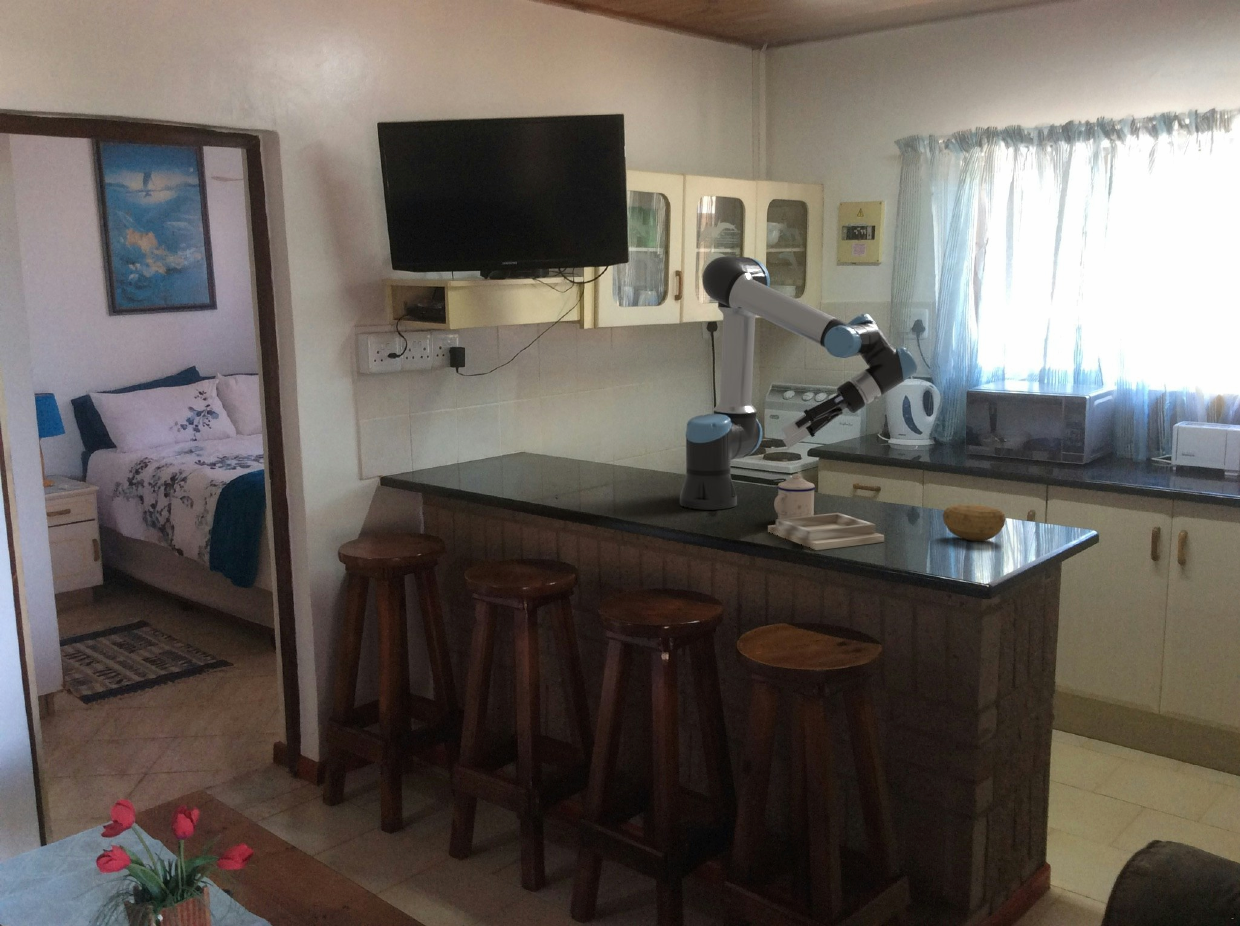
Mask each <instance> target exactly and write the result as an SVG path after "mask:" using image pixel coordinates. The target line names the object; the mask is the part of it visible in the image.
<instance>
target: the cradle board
mask: <svg viewBox="0 0 1240 926" xmlns="http://www.w3.org/2000/svg"><path fill="white" fill-rule="evenodd" d="M876 526H877V525H876V523H872V522H869V521H866V520H863V519H859V518H856V517H854V516H850V515H847V514H843V513H840V512H834V513H825V514H824V513H823V514H816V515H813V516H804V517H794V518H785V519H778V518H777V519H775V524H772V525H767V533H769V532H770V534H772V533H773V535H775V536H777V535H778V537H779V538H780V537H781V538H783V539H785V538H786V540H788V541H791V542H794V543H795V544H799V545H801V544H802V546H804V547H807V548H809V547H810V548H809V549H812V550H815V551H821V550H828V549H829V550H831V549H837V548H838V549H839V548H845V547H846V548H847V547H853V546H861V545H862V546H863V545H869V544H870V545H871V544H877V543H884V542H885V535H884V534H881V533H878V532H876Z"/></svg>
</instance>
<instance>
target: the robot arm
mask: <svg viewBox="0 0 1240 926" xmlns="http://www.w3.org/2000/svg"><path fill="white" fill-rule="evenodd" d="M770 279H771V278H770V274H769V271H768V269H767V267H766V266H765V265H764V264H763V263H762V262H761V261H759V259H758V260H757V259H755V258H753V257H748V256H747V257H746V256H719V257H716V258H714V259H713V260H711V261H710V262H709V263H708V264H707V265H706V267H705V268H704V270H703V273H702V278H701V280H702V286H703V290H704V291H705V293H706V295H707V296H709V298H711V299H712V300H714V301H715V302H717V308H718V310H720V312H721V313H722V316H723V317H722V340H721V362H720V363H721V364H720V387H719V388H720V389H719V402H718V404H717V405H716V406H715V407H714V408H713V413H709V414H704V415H703V414H701V415H697V416H694V417H692V418H689V420H688V421H687V423H686V430H685V444H686V445H685V457H686V458H685V459H686V461H685V462H686V465H685V466H686V467H685V468H686V475H685V479H684V482H683V485H682V489H681V491H680V494H679V506H681V507H683V506H684V507H683V508H686V507H689V508H688V509H692V508H693V510H694V509H695V510H706V511H707V510H708V511H709V510H710V511H711V510H725V509H731V508H734V507H736V506H737V505H738V497H737V492H736V490H735V486H734V482H733V480H732V476H731V464H732V463H731V461H732V460H736V459H739V460H740V459H742V458H743V459H744V458H745V457H748V456H749V455H751V454H753V453H754V452H755V451H757V450H758V448H759V447H760V444H761V443H762V441H763V427H762V425H761V423H760V422H759V420H758V419H757V409H756V408H755V406H753V404H752V399H753V398H752V396H753V374H754V353H755V335H756V334H755V331H756V329H755V328H756V316H758V317H759V318H762V319H764V320H766V321H768V322H771V323H772V324H774V325H777V326H778V327H781V328H782V329H785V330H787V331H789V332H791V333H793V334H795V335H797V336H799V337H802V338H804V339H806V340H808V341H810V342H811V343H814V344H816V345H818V346H820V347H823V348H824V349H826V351H827V353H828V354H830V355H831V356H833V357H835V358H841V359H847V358H852V357H855V356H856V357H857V356H861V358H862V359H863V360H864V362H865V364H866V365H867V366H868V367H867V368H866V369H864V370H863V371H860V373H858V374H856V375H855V376H852V377H851V378H850V380H849V381H848V380H847V381H845V382H844V383H842V384H841V385H839V386H838V387H837V388H836V392H837V394H835V395H833V396H832V397H830V398H828V399H826V400H825V401H822V402H821V403H819V404H817V405H815V406H814V407H811V408H809V409H808V408H807V409H805V410H804V411H803V413H804V414H803V415H801V416H799V417H798V418H797V419H795V420H794V421H792V422H790V423H789V424H787V425H786V426H784V427H783V428H781V431H782V432H783V433H784V435H785V438H783V439H782V441H783V443H784V444H785V446H786V448H787V449H791V448H793V447H794V446H795V445H797V444H799V443H800V442H802V441H803V440H805V439H807V438H808V437H811V438H813V437H815V436H816V433H817V432H819V431H821V429H823V428H824V427H825V426H827V425H828V424H829V423H831V422H832V421H834V420H835V419H836V418H837V417H839V416H841V415H843V413H844V410H845V409H847V410H848V411H849V412H850V413H852V414H854V413H857V412H858V411H859V410H861V409H862V408H864V407H865V406H866V404H870V403H872V402H873V401H876V402H878V401H879V400H880V398H879V397H880V396H883V395H884V394H886V393H888V392H889V391H891V390H892V389H894V388H895V387H898V386H899V385H900V384H902V383H904V382H905V381H906V380H907V379H909V378H910V377H911V376H913V375H914V374H915V373H916V372H917V369H918V364H917V362H916V360H915V358H914V357H913V355H912V354H911V352H910V351H908V349H907V348H906V347H903V346H900V347H898V348H895V347H894V346H893V345H892V344H891V342H890V341H889V340H888V337H886V335H885V334H884V332H883V331H882V330H881V328H880V327H879V326H878V324H877V322H876V321H875V320H874V319H873V318H872V316H871V315H870V314H869V313H862V314H860V315H857V316H856V317H854V318H853V319H851V320H850V321H848V322H845V321H844V320H841V319H838V318H836V317H834V316H832V315H830V314H827V313H826V312H824V311H822V310H819V309H817V308H815V307H813V306H810V305H808V304H806V303H804V302H802V301H801V300H800V301H799V300H797V299H795V298H793V297H791V296H789V295H787V294H785V293H783V292H780V291H778V290H776V289H774V288H772V287H770V285H771V284H770V283H771V280H770Z"/></svg>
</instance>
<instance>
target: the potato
mask: <svg viewBox="0 0 1240 926" xmlns="http://www.w3.org/2000/svg"><path fill="white" fill-rule="evenodd" d="M942 513H943V514H942V518H943V523H944V525H945V527H946V528H947V529H948V531H949V532H950V533H951V534H953V535H954V536H956V537H959V538H960V539H963V540H966V541H970V542H971V541H972V542H977V541H980V542H981V541H989V540H990V539H993V538H994V537H996V536H997V535H998V534H999V533H1000V532H1002V530H1003V528H1004V527H1005V524H1006V516H1005V513H1004V512H1003V511H1002V510H1000V509H998V508H996V507H990V506H984V505H981V504H953V505H951V506H948V507H947V508H946V509H944V510H943V512H942Z"/></svg>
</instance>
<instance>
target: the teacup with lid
mask: <svg viewBox="0 0 1240 926" xmlns="http://www.w3.org/2000/svg"><path fill="white" fill-rule="evenodd" d="M791 476H792V477H790V478H787V480H784V481H782V482H779V483H778V485H777V490H778V493H777V496H776V497H775V499H774V502H773V503H774V504H773V505H774V506H773V507H774V511H775V512H776V514H777V519H785V518H794V517H804V516H813V515H814V513H815V512H814V510H815V508H814V504H815V503H814V502H815V489H816V486H815V484H814V483H812V482H809V481H807V480H806V479H805V478H802V477H801V476H802V475H801V474H800V473H793V474H792V475H791Z"/></svg>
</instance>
